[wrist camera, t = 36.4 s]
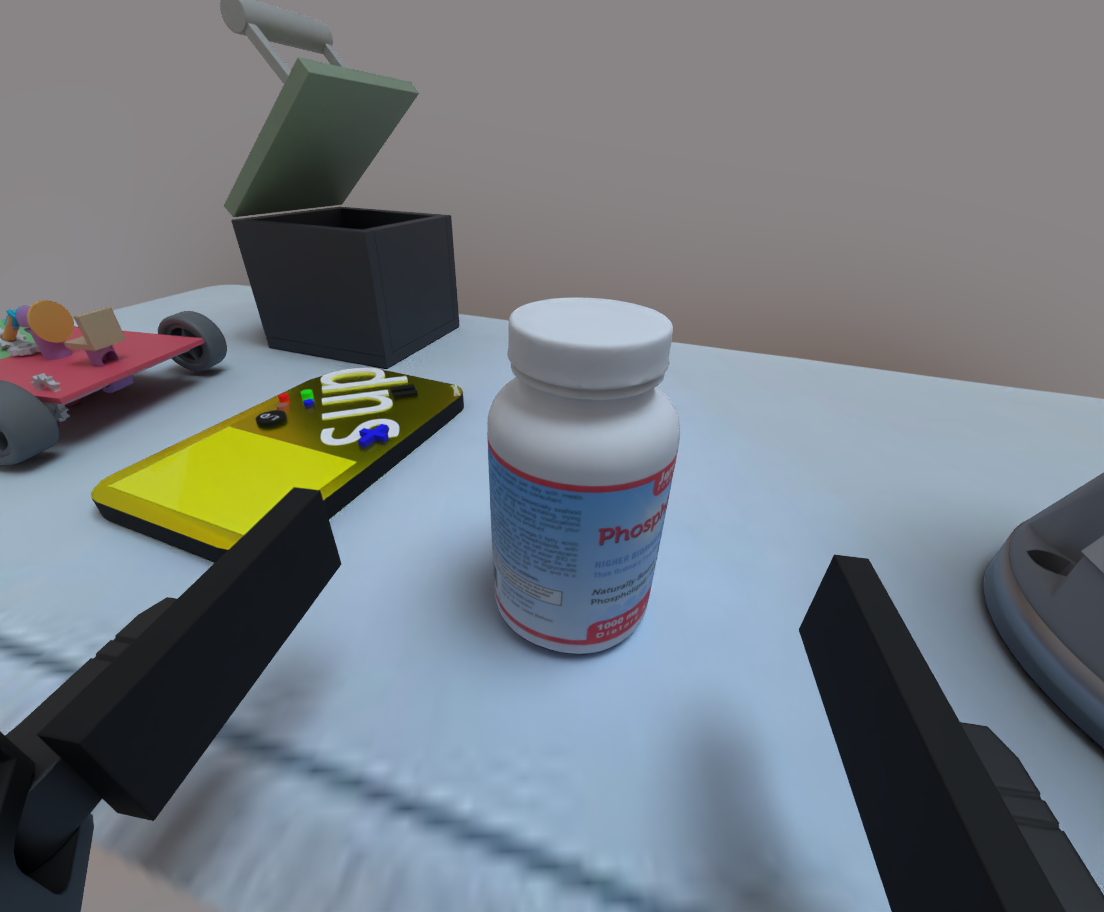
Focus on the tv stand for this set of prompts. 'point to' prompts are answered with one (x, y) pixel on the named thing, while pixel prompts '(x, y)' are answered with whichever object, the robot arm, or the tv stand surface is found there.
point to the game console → (278, 457)
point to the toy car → (82, 365)
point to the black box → (351, 281)
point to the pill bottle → (580, 470)
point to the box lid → (310, 116)
